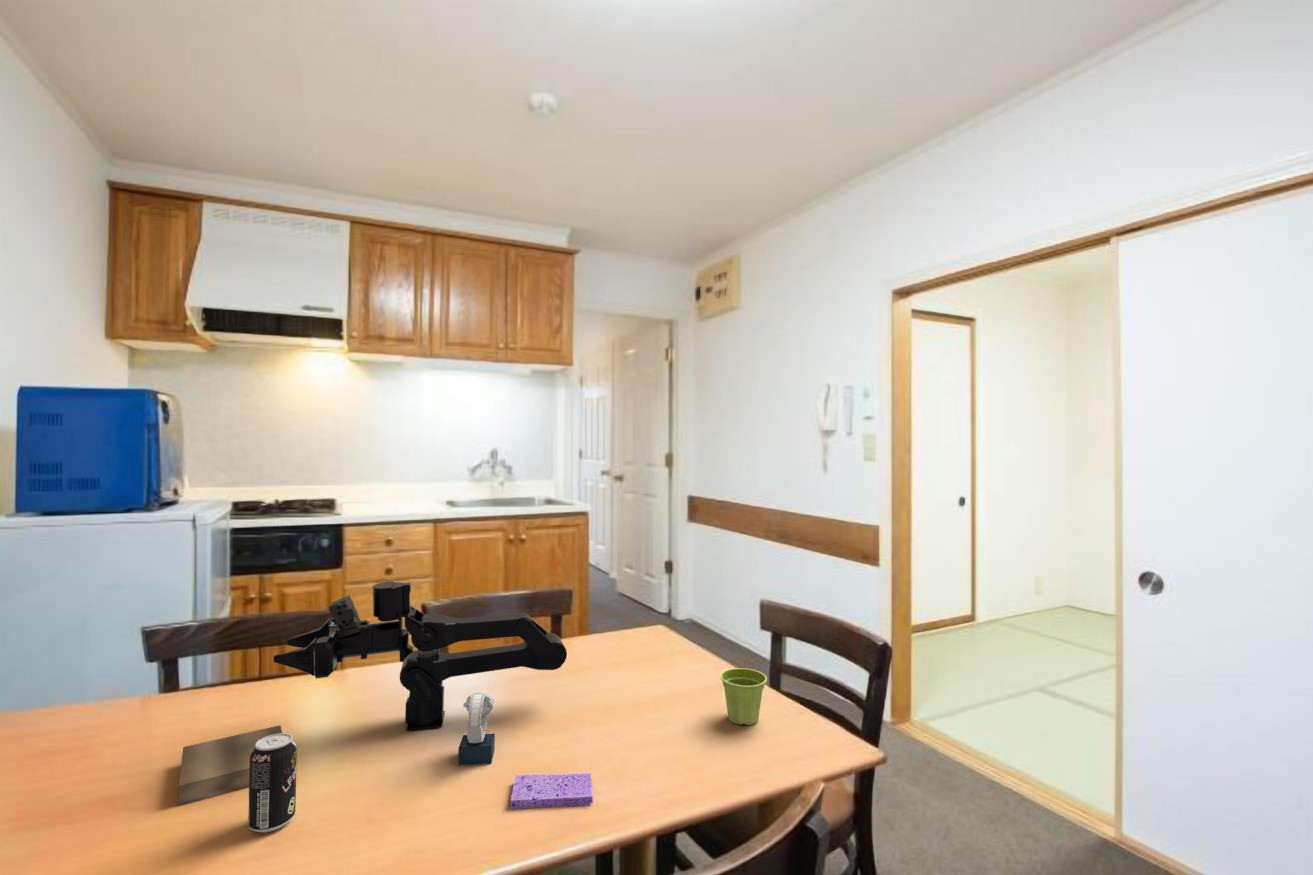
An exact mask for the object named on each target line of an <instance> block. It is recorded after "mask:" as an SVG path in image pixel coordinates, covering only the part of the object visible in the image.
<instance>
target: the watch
mask: <svg viewBox="0 0 1313 875" xmlns="http://www.w3.org/2000/svg"><path fill="white" fill-rule="evenodd" d="M494 704H495V698H494V696H493V695H491V694H489V693H487V692H483V691H482V692H481V691H480V692H478V691H477V692H474V693H473V692H472V693H471V694H469V696H467V698H466V702H463V706H462V707H463V708H466V710H467V712H468V719H467V722H468V725H467V727H466V729H467V731H466V732H467V734H463V736H462V737H461V740H460V743H459V745H458V756H457V757H458V759H457V760H458V761H457V764H458V766H471V765H473V766H474V765H489V764H492V762H493V758H494V754H495V752H496V751H495V748H496V746H495V745H496V744H495V741H496V740H495V739H496V738H495V736H496V733H486V730H487V722H488V718H489V717H490V715H491V712H492V710H493V708H494Z"/></svg>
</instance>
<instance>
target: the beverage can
mask: <svg viewBox="0 0 1313 875" xmlns="http://www.w3.org/2000/svg"><path fill="white" fill-rule="evenodd" d="M297 747H298V746H297V744H296V742H294V740H293V735H291V734H290V733H286V732H285V733H284V732H282V733H279V734H273V735H269V736H266V737H264V738H262V739H260V740H259V741H257V742H256V744H255V749H254V750H253V752H252V753H251V756H250V770H249V787H248V811H247V812H248V815H247V824H248V825H247V827H248V828H249V829H250V830H251V831H252V832H256V833H262V834H263V833H265V834H266V833H271V832H274V831H277V830H279V829H281V828H283V827H284V826H285V825H287V824H288V823H289V822H290V821H291V820H292V819H293V818H294V817H295V816H296V800H297V799H296V797H297V796H296V795H297V794H296V793H297V759H298V758H297V757H298V755H297V754H298V753H297V752H298V748H297Z"/></svg>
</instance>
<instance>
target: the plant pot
mask: <svg viewBox="0 0 1313 875" xmlns="http://www.w3.org/2000/svg"><path fill="white" fill-rule="evenodd" d="M719 677H720V680H721V681H722V685H723V687H724V696H725V701H726V702H725V703H726V711H727V718H728V720H729V721H730V722H731V723H732V724H733V723H734V725H738V724H739V726H741V725H747V726H751V725H754V724H757V723H758V721H759V719H760V718H759V717H760V712H761V711H760V710H761V704H762V699H763V697H762V696H763V690H764V689H765V684H766V683H767V681H768V677H767V676H766V674H765V673H763V672H761V671H758V670H756V669H751V668H743V667H741V668H740V667H739V668H736V667H735V668H729V669H726V670H723V671H722V672H721V673H720V676H719Z"/></svg>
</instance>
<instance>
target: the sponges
mask: <svg viewBox="0 0 1313 875" xmlns="http://www.w3.org/2000/svg"><path fill="white" fill-rule="evenodd" d="M514 776H515V777H514V780H513V786H512V792H511V795H510V808H511V810H512V809H513V810H515V809H531V808H547V807H548V808H550V807H552V808H553V807H555V808H556V807H571V806H572V807H573V806H590V805H591V804H593V803H594V796H593V794H594V793H593V785H592V784H593V783H592V773H591V772H589V773H588V772H584V773H583V772H581V773H568V774H565V773H563V774H555V773H553V774H551V773H550V774H547V775H546V774H532V775H531V774H516V775H514Z"/></svg>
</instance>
